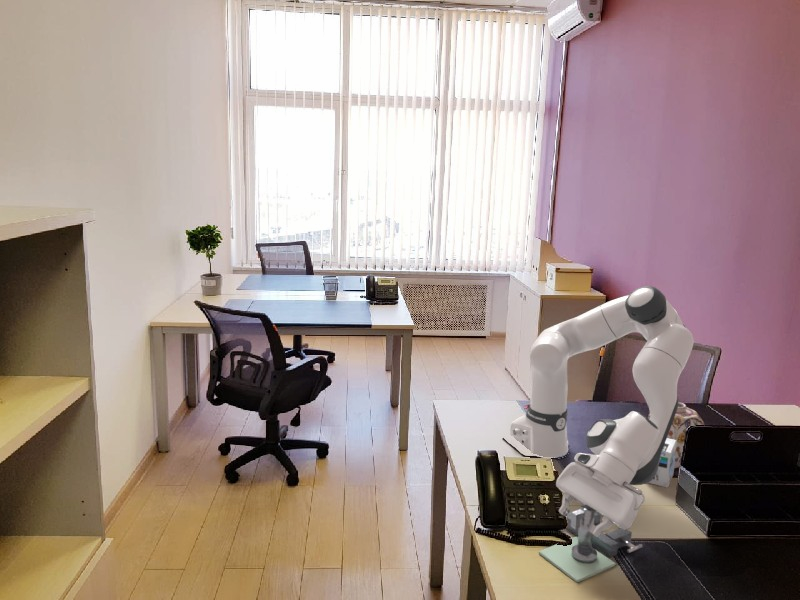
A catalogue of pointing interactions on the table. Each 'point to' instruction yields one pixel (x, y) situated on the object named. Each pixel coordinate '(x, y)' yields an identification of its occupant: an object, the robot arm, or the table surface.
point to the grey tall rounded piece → (583, 535)
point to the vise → (608, 538)
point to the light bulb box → (666, 464)
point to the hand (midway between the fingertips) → (577, 524)
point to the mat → (570, 566)
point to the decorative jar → (682, 428)
